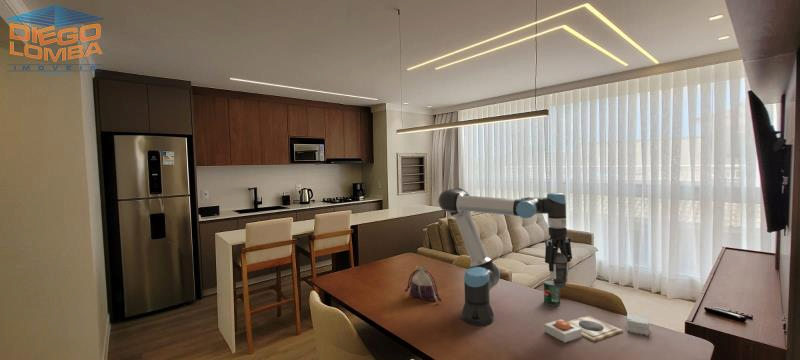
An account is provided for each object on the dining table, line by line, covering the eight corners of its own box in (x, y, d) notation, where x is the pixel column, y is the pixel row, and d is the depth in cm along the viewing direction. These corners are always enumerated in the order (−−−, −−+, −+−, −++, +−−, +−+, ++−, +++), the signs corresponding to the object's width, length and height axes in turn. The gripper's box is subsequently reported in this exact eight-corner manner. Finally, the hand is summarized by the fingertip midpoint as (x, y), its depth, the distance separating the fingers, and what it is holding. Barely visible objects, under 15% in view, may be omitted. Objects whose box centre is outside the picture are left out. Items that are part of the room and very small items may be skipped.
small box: (648, 328, 145) (648, 317, 145) (649, 336, 139) (649, 324, 139) (626, 324, 150) (626, 313, 150) (626, 331, 143) (626, 320, 143)
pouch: (399, 297, 189) (399, 264, 188) (407, 292, 196) (406, 260, 195) (439, 305, 176) (438, 270, 175) (446, 300, 183) (445, 266, 182)
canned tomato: (540, 301, 177) (540, 281, 177) (550, 298, 181) (550, 278, 180) (553, 307, 170) (553, 285, 170) (563, 303, 174) (563, 283, 173)
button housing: (564, 342, 136) (564, 334, 136) (545, 331, 145) (544, 324, 145) (581, 337, 140) (581, 328, 140) (561, 326, 149) (561, 319, 149)
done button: (563, 332, 138) (563, 327, 138) (552, 326, 144) (552, 322, 144) (573, 329, 141) (573, 324, 141) (561, 323, 146) (561, 319, 146)
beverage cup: (558, 290, 147) (557, 245, 147) (547, 285, 154) (545, 242, 154) (572, 288, 149) (570, 243, 148) (560, 283, 156) (558, 240, 155)
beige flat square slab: (594, 341, 136) (594, 338, 135) (561, 325, 150) (561, 322, 150) (622, 332, 143) (622, 328, 143) (588, 317, 157) (588, 314, 157)
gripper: (547, 230, 143) (549, 282, 144) (580, 225, 151) (582, 275, 152) (534, 228, 150) (536, 278, 151) (566, 223, 158) (567, 271, 159)
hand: (559, 276), depth 151 cm, fingers closed on beverage cup, 7 cm apart
